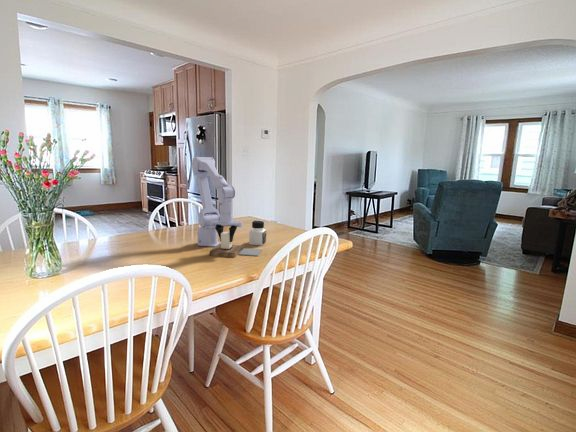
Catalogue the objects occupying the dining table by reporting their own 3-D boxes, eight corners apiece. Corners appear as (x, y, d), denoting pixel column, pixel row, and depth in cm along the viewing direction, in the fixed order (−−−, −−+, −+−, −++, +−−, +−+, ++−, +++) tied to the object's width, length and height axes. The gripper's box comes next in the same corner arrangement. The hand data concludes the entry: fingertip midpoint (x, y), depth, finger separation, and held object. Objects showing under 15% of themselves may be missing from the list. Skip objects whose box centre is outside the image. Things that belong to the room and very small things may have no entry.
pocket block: (209, 255, 143) (209, 251, 142) (218, 247, 155) (218, 243, 154) (235, 257, 141) (235, 252, 141) (242, 249, 153) (242, 245, 153)
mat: (238, 254, 145) (238, 253, 145) (243, 249, 154) (243, 248, 153) (257, 256, 144) (257, 255, 144) (261, 250, 153) (261, 249, 152)
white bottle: (262, 245, 160) (262, 222, 158) (249, 244, 162) (249, 221, 159) (266, 242, 167) (266, 220, 165) (253, 241, 168) (253, 219, 166)
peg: (220, 248, 146) (220, 233, 144) (223, 245, 150) (223, 231, 148) (229, 248, 145) (229, 234, 144) (231, 246, 149) (231, 232, 148)
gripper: (207, 213, 141) (208, 242, 144) (239, 215, 140) (239, 244, 142) (213, 210, 148) (213, 238, 151) (243, 212, 146) (243, 240, 149)
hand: (226, 241), depth 147 cm, fingers closed on peg, 4 cm apart
